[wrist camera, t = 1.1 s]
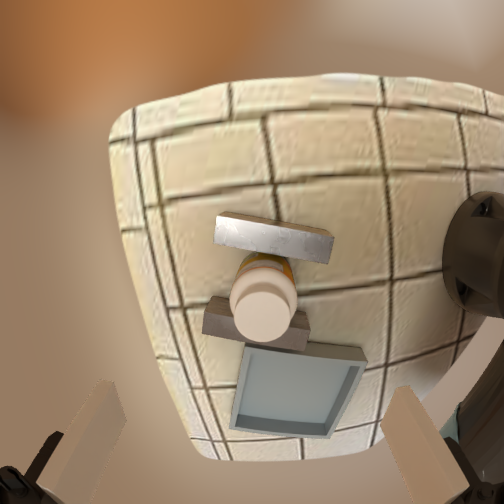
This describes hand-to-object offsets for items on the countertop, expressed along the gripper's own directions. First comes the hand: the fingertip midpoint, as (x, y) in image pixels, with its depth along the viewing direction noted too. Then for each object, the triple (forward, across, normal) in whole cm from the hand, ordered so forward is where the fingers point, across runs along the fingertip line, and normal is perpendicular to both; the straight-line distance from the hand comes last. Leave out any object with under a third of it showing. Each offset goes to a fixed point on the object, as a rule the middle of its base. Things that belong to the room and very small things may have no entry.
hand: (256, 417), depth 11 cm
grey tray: (+18, -5, +14) cm, 23 cm away
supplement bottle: (+18, -1, 0) cm, 19 cm away
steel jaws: (+18, -1, 0) cm, 18 cm away
